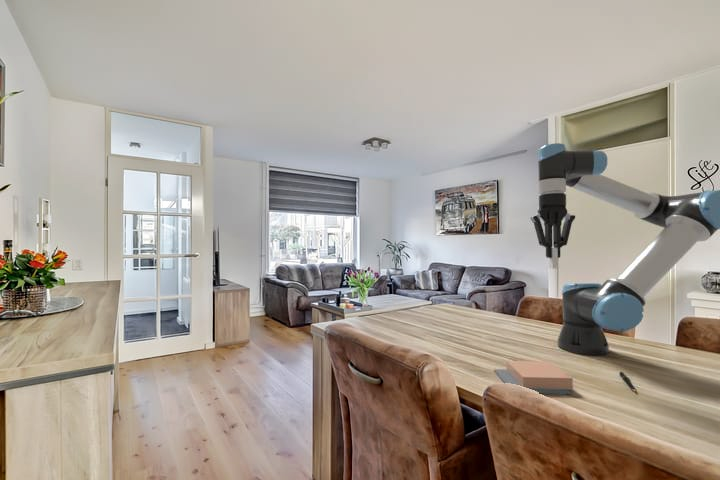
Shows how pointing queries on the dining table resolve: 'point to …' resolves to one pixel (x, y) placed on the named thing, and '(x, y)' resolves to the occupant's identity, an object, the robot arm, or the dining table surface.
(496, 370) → the mat
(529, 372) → the glazed tile
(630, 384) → the fountain pen
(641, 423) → the dining table surface
